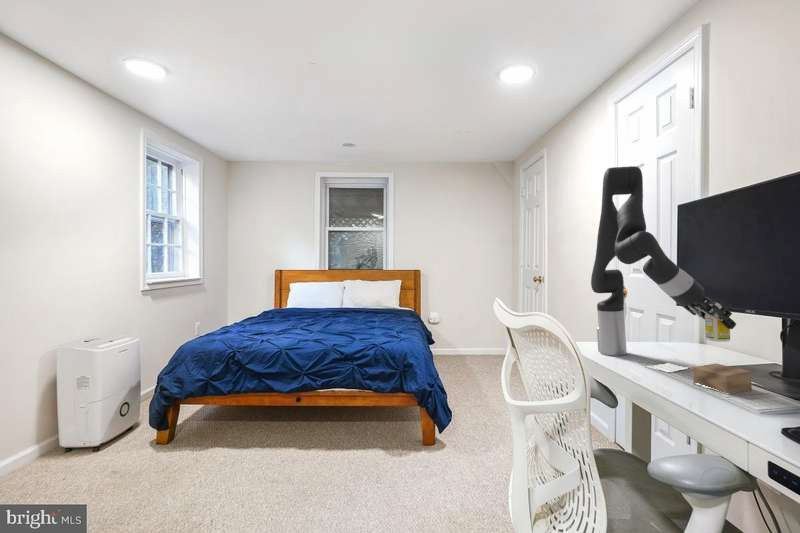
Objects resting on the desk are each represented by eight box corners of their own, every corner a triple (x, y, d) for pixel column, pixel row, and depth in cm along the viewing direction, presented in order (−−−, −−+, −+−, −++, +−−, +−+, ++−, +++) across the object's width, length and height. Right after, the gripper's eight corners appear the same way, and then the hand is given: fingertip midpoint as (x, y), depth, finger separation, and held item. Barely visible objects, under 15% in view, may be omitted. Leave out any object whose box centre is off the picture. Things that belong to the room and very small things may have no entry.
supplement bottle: (703, 340, 105) (701, 307, 105) (708, 337, 109) (706, 304, 109) (728, 342, 101) (726, 308, 101) (732, 339, 105) (730, 305, 104)
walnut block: (693, 384, 108) (692, 367, 108) (716, 379, 110) (715, 363, 110) (727, 394, 100) (726, 375, 99) (751, 389, 102) (750, 371, 102)
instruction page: (646, 367, 126) (646, 366, 126) (666, 362, 130) (666, 361, 130) (669, 373, 119) (669, 372, 119) (690, 368, 122) (690, 367, 122)
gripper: (708, 276, 98) (756, 318, 98) (669, 275, 112) (711, 311, 112) (689, 298, 98) (737, 340, 98) (653, 293, 112) (695, 330, 112)
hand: (723, 324), depth 105 cm, fingers closed on supplement bottle, 5 cm apart
